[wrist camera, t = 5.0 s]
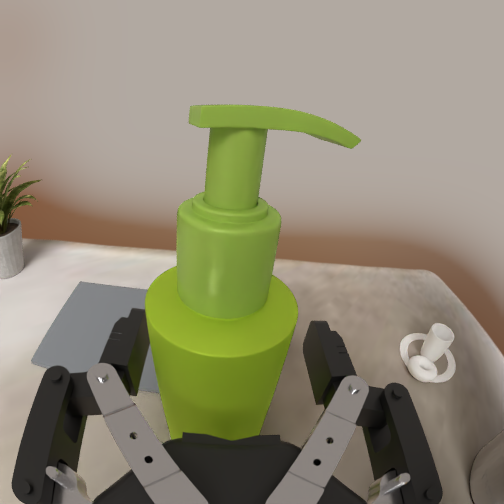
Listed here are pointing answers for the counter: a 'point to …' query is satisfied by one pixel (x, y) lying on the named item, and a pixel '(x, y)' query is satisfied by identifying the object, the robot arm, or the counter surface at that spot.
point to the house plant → (11, 226)
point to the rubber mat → (91, 330)
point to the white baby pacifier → (430, 354)
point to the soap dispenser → (227, 282)
